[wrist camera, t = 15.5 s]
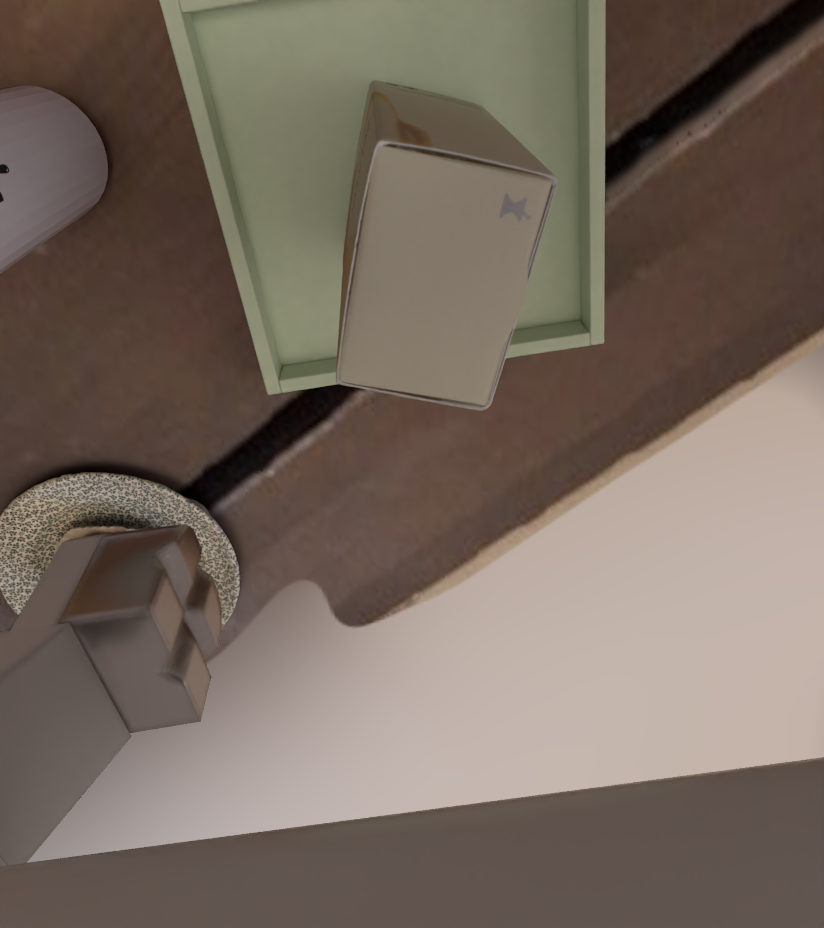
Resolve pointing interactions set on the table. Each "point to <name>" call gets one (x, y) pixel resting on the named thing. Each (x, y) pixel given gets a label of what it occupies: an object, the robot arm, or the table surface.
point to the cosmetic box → (436, 247)
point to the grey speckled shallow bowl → (102, 528)
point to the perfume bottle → (44, 168)
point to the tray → (337, 134)
